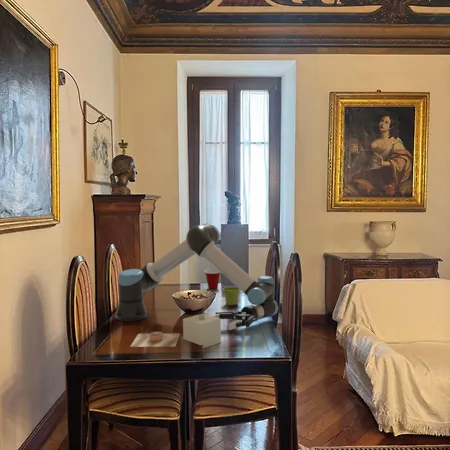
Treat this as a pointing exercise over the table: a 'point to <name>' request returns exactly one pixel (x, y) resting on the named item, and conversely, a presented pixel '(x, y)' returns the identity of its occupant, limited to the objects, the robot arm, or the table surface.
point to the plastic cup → (212, 278)
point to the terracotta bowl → (156, 336)
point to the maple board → (143, 341)
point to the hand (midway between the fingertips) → (218, 323)
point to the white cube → (202, 329)
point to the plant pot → (231, 295)
